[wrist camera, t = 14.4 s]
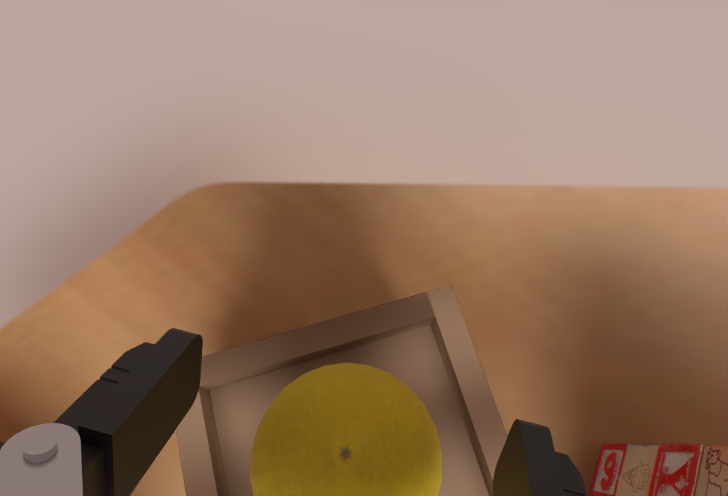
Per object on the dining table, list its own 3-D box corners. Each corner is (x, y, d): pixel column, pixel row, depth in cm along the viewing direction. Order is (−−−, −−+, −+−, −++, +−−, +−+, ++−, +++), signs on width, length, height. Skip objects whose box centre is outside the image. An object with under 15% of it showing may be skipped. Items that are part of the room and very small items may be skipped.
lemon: (284, 380, 20) (249, 320, 13) (426, 397, 20) (472, 346, 13) (256, 542, 18) (194, 582, 10) (416, 562, 18) (467, 616, 10)
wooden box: (512, 562, 22) (570, 608, 16) (263, 650, 21) (224, 736, 15) (429, 321, 26) (451, 284, 20) (213, 385, 25) (165, 367, 19)
